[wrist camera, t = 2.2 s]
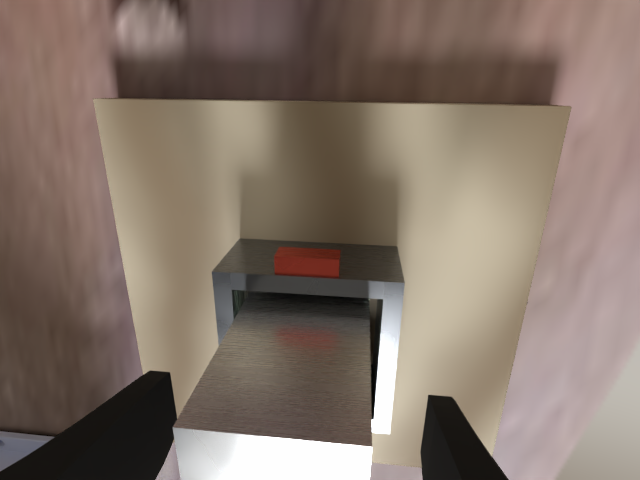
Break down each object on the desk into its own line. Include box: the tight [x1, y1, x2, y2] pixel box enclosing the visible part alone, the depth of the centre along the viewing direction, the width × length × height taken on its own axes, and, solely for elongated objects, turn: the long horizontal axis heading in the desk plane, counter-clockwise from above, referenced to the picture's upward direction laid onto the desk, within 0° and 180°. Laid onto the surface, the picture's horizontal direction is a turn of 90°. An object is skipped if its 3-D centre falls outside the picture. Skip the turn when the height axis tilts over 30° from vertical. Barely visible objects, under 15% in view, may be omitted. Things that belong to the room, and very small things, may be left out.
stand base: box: [93, 98, 571, 468], centre depth 17 cm, size 16×16×2 cm
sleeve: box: [212, 238, 405, 434], centre depth 15 cm, size 6×7×3 cm
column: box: [173, 291, 372, 480], centre depth 12 cm, size 4×4×8 cm
